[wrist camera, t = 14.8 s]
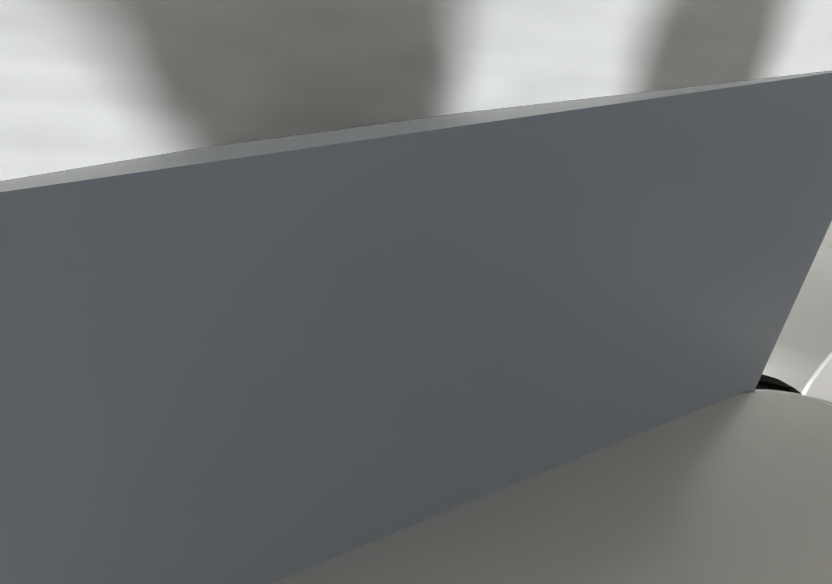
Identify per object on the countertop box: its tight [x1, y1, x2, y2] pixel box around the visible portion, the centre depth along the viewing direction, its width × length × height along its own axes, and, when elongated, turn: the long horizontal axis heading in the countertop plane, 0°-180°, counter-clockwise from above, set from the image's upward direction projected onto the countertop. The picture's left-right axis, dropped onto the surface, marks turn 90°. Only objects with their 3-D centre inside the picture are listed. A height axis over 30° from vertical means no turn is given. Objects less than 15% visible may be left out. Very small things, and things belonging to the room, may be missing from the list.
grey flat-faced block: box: [0, 71, 832, 584], centre depth 9 cm, size 8×12×9 cm, turn 6°
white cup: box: [762, 221, 832, 402], centre depth 16 cm, size 8×8×10 cm
